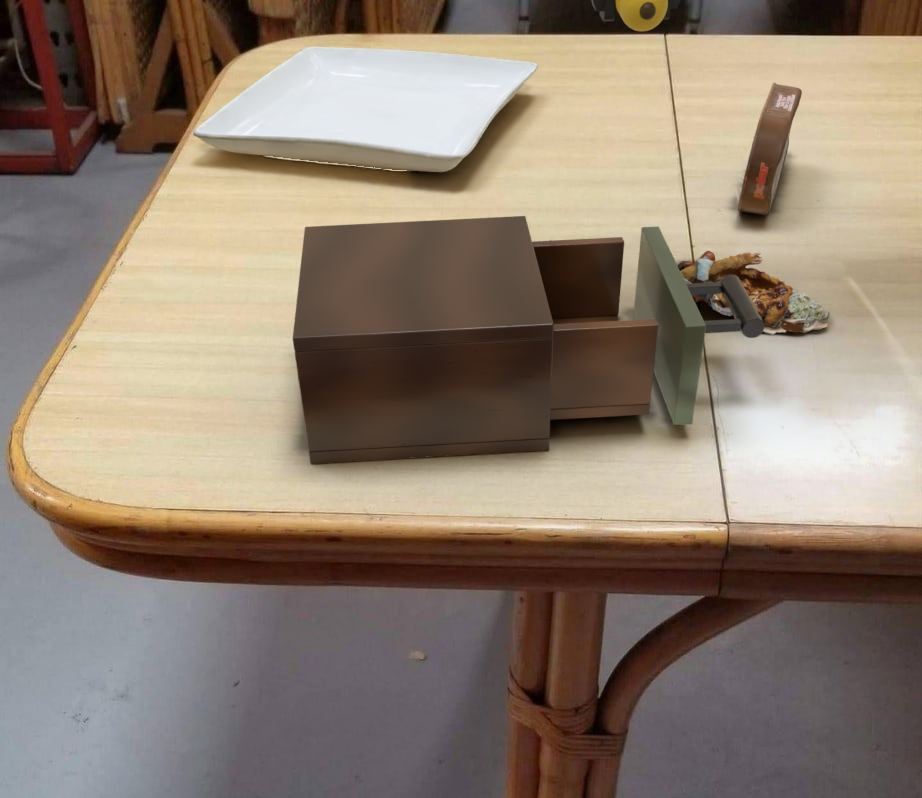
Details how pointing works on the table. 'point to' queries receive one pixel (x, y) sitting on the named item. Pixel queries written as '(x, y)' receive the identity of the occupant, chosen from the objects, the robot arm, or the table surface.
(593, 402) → the drawer
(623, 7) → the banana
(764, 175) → the brown snack box
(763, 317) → the brown sculpted figurine
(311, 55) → the square plate
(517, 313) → the cabinet
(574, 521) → the table surface
